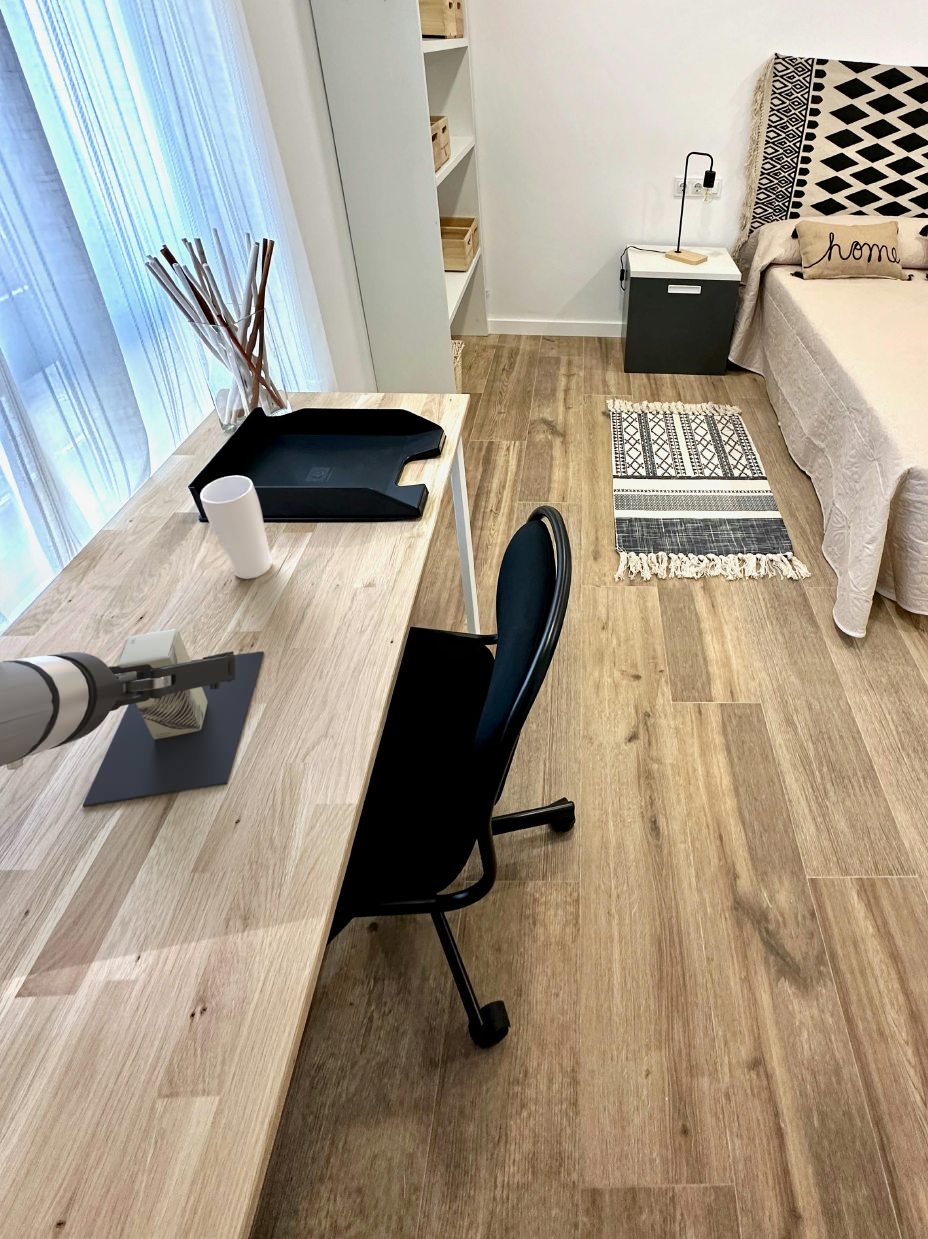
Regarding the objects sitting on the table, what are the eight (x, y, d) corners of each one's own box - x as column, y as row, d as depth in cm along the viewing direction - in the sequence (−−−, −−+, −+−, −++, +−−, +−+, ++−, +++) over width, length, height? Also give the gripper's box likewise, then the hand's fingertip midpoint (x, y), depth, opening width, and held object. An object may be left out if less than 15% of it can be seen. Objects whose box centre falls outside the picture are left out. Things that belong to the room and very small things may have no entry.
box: (153, 741, 75) (111, 667, 68) (163, 709, 79) (124, 635, 72) (204, 731, 76) (168, 657, 69) (211, 699, 80) (178, 626, 73)
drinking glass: (255, 589, 96) (227, 508, 88) (218, 577, 98) (187, 497, 89) (288, 559, 101) (264, 480, 93) (252, 548, 103) (226, 470, 95)
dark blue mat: (83, 807, 69) (82, 805, 69) (147, 668, 84) (145, 666, 84) (227, 784, 72) (226, 782, 71) (264, 652, 86) (263, 651, 86)
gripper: (-143, 779, 51) (38, 725, 71) (207, 727, 55) (283, 690, 76) (-133, 678, 52) (41, 654, 73) (207, 635, 57) (281, 623, 77)
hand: (165, 672), depth 74 cm, fingers open, 13 cm apart
